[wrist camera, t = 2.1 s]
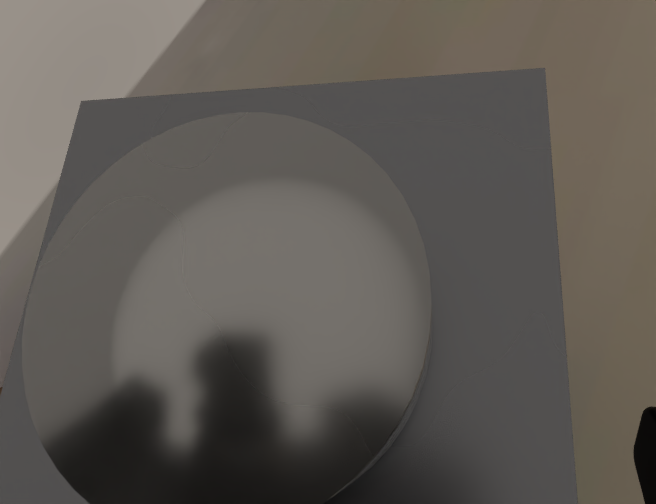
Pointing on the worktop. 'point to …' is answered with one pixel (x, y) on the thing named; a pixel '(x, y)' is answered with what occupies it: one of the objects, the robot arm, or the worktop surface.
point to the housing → (298, 302)
